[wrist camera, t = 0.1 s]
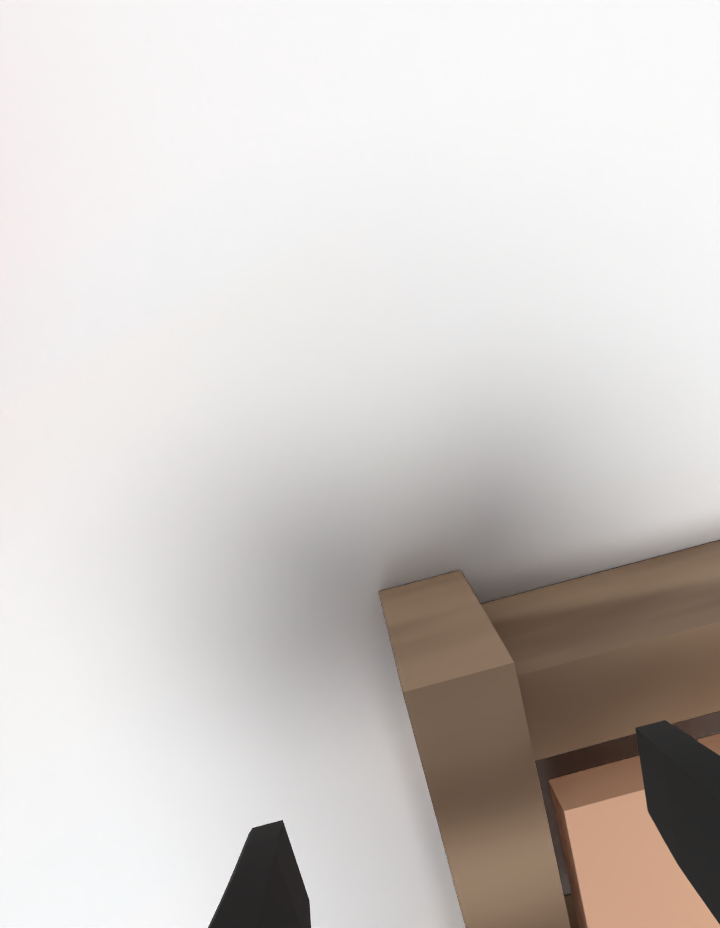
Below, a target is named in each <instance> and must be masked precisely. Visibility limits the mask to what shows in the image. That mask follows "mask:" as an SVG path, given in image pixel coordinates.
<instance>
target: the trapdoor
mask: <svg viewBox="0 0 720 928" xmlns="http://www.w3.org/2000/svg"><path fill="white" fill-rule="evenodd" d="M697 741H698V742H700V743H701V744H703V745H704V746H706V747H707V748H709V749H711V750H712V751H714V752H715V753H717V754H718V755H720V733H719V734H716V735H712V736H708V737H704V738H701V739H697ZM548 781H549V786H550V791H551V796H552V801H553V805H554V810H555V815H556V820H557V825H558V829H559V834H560V839H561V844H562V849H563V853H564V858H565V863H566V868H567V873H568V877H569V882H570V887H571V892H572V897H573V901H574V906H575V911H576V916H577V921H578V925H579V928H720V924H719V923H718V922H717V920H716V919H715V917H714V916H713V915H712V913H711V912H710V910H709V909H708V907H707V906H706V905H705V903H704V902H703V900H702V899H701V897H700V896H699V895H698V893H697V892H696V890H695V889H694V887H693V886H692V885H691V883H690V882H689V880H688V879H687V877H686V876H685V875H684V873H683V872H682V870H681V869H680V867H679V866H678V864H677V862H676V861H675V859H674V857H673V856H672V854H671V852H670V850H669V849H668V847H667V845H666V843H665V842H664V840H663V838H662V836H661V834H660V833H659V831H658V829H657V827H656V825H655V824H654V822H653V820H652V818H651V816H650V814H649V813H648V810H647V803H646V796H645V790H644V783H643V776H642V770H641V763H640V756H639V755H638V756H635V757H631V758H627V759H624V760H620V761H616V762H612V763H609V764H605V765H601V766H598V767H594V768H590V769H587V770H583V771H579V772H576V773H572V774H568V775H565V776H561V777H557V778H554V779H550V780H548Z"/></svg>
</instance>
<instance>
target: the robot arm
mask: <svg viewBox="0 0 720 928" xmlns="http://www.w3.org/2000/svg"><path fill="white" fill-rule="evenodd" d="M635 730H636V736H637V743H638V750H639V756H640V763H641V770H642V776H643V783H644V790H645V796H646V803H647V810H648V813H649V814H650V816H651V818H652V820H653V822H654V824H655V825H656V827H657V829H658V831H659V833H660V834H661V836H662V838H663V840H664V842H665V843H666V845H667V847H668V849H669V850H670V852H671V854H672V856H673V857H674V859H675V861H676V862H677V864H678V866H679V867H680V869H681V870H682V872H683V873H684V875H685V876H686V877H687V879H688V880H689V882H690V883H691V885H692V886H693V887H694V889H695V890H696V892H697V893H698V895H699V896H700V897H701V899H702V900H703V902H704V903H705V905H706V906H707V907H708V909H709V910H710V912H711V913H712V915H713V916H714V917H715V919H716V920H717V922H718V923H719V924H720V755H718V754H717V753H715V752H714V751H712V750H711V749H709V748H707V747H706V746H704V745H703V744H701V743H700V742H698V741H697V740H695V739H694V738H692V737H691V736H689V735H687V734H686V733H684V732H683V731H681V730H680V729H678V728H677V727H675V726H673V725H672V724H670V723H669V722H667V721H666V720H663V721H659V722H656V723H652V724H648V725H644V726H640V727H636V728H635ZM208 928H311V920H310V904H309V898H308V895H307V892H306V889H305V886H304V883H303V880H302V877H301V874H300V871H299V868H298V865H297V862H296V859H295V856H294V853H293V850H292V847H291V844H290V841H289V838H288V835H287V832H286V829H285V826H284V823H283V820H281V821H277V822H274V823H270V824H266V825H262V826H258V827H255V828H252V830H251V831H250V833H249V835H248V837H247V840H246V842H245V845H244V847H243V849H242V852H241V854H240V857H239V859H238V862H237V864H236V867H235V869H234V871H233V874H232V876H231V878H230V881H229V883H228V885H227V888H226V890H225V892H224V894H223V897H222V899H221V901H220V903H219V905H218V908H217V910H216V912H215V914H214V916H213V918H212V920H211V923H210V925H209V927H208Z"/></svg>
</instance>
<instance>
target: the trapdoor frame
mask: <svg viewBox="0 0 720 928" xmlns="http://www.w3.org/2000/svg"><path fill="white" fill-rule="evenodd" d="M379 595H380V599H381V604H382V608H383V612H384V616H385V620H386V625H387V629H388V633H389V637H390V641H391V645H392V650H393V654H394V658H395V662H396V666H397V671H398V675H399V679H400V683H401V687H402V691H403V695H404V699H405V703H406V706H407V710H408V714H409V718H410V721H411V725H412V729H413V733H414V736H415V740H416V744H417V748H418V751H419V755H420V759H421V762H422V766H423V770H424V774H425V777H426V781H427V785H428V789H429V792H430V796H431V800H432V803H433V807H434V811H435V815H436V818H437V822H438V826H439V830H440V833H441V837H442V841H443V845H444V848H445V852H446V856H447V859H448V863H449V867H450V871H451V874H452V878H453V882H454V886H455V889H456V893H457V897H458V901H459V904H460V908H461V912H462V915H463V919H464V923H465V927H466V928H579V925H578V921H577V916H576V911H575V906H574V901H573V897H572V894H571V895H567V896H564V894H563V889H562V885H561V880H560V875H559V871H558V866H557V861H556V856H555V852H554V847H553V842H552V838H551V833H550V828H549V823H548V819H547V814H546V809H545V805H544V800H543V795H542V791H541V786H540V781H539V776H538V772H537V767H536V762H535V761H537V760H541V759H544V758H548V757H552V756H555V755H559V754H563V753H566V752H570V751H574V750H578V749H581V748H585V747H589V746H592V745H596V744H600V743H603V742H607V741H611V740H614V739H618V738H622V737H625V736H629V735H633V734H636V730H635V728H636V727H640V726H644V725H648V724H652V723H656V722H659V721H663V720H666V721H667V722H669V723H670V724H673V723H677V722H681V721H684V720H688V719H692V718H696V717H699V716H703V715H707V714H710V713H714V712H718V711H720V540H719V541H715V542H711V543H707V544H704V545H700V546H696V547H692V548H689V549H685V550H681V551H677V552H674V553H670V554H666V555H662V556H659V557H655V558H651V559H648V560H644V561H640V562H636V563H633V564H629V565H625V566H621V567H618V568H614V569H610V570H606V571H603V572H599V573H595V574H591V575H588V576H584V577H580V578H576V579H573V580H569V581H565V582H561V583H558V584H554V585H550V586H547V587H543V588H539V589H535V590H532V591H528V592H524V593H520V594H517V595H513V596H509V597H505V598H502V599H498V600H494V601H490V602H487V603H483V604H480V603H479V601H478V599H477V597H476V596H475V594H474V592H473V591H472V589H471V587H470V585H469V584H468V582H467V580H466V579H465V577H464V575H463V573H462V572H461V570H458V571H455V572H451V573H447V574H443V575H440V576H436V577H432V578H428V579H425V580H421V581H417V582H413V583H410V584H406V585H402V586H398V587H395V588H391V589H387V590H383V591H380V592H379Z"/></svg>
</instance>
